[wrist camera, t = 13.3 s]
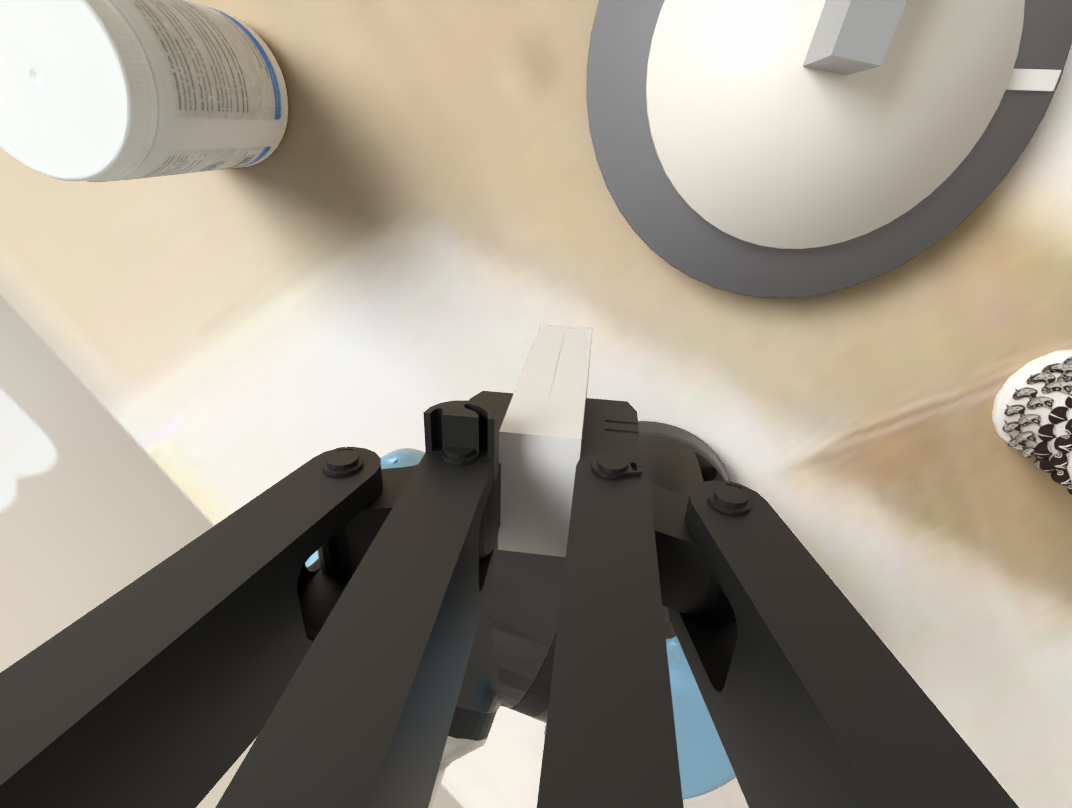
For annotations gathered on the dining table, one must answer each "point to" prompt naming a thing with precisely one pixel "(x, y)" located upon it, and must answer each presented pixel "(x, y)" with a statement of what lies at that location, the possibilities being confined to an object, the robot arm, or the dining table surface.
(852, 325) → the dining table surface
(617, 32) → the dial base
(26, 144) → the supplement tub
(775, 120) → the dial
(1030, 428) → the decorative candle
